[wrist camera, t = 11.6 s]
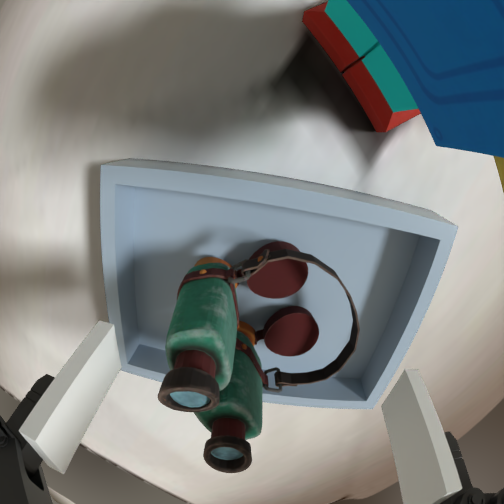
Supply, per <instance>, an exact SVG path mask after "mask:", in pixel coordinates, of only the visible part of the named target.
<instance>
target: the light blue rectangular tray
mask: <svg viewBox="0 0 504 504" xmlns="http://www.w3.org/2000/svg"><path fill="white" fill-rule="evenodd" d="M100 226H101V248H102V263H103V275H104V285H105V294H106V303H107V310H108V317H109V323H111V324H114V328H115V334H116V340H117V345H118V351H119V356H120V361H121V366H122V368H121V369H120V370H122V371H125V372H128V373H131V374H135V375H138V376H142V377H145V378H149V379H152V380H156V381H160V382H163V379H164V377H165V375H166V374H167V373H168V372H169V371H170V369H169V366H168V362H167V357H166V351H165V345H166V338H167V333H168V329H169V326H170V322H171V319H172V316H173V312H174V309H175V306H176V302H177V293H178V289H179V286H180V284H181V282H182V280H183V278H184V277H185V275H186V274H187V272H188V271H189V270H190V269H191V268H193V267H194V266H195V264H196V263H197V261H199V260H200V259H202V258H204V257H216V258H219V259H222V260H224V261H226V262H227V263H229V264H230V265H232V266H233V265H235V264H237V263H239V262H241V261H243V260H245V259H248V260H249V258H250V257H251V256H252V255H253V253H254V252H255V251H257V250H258V249H259V248H261V247H262V246H264V245H266V244H268V243H271V242H276V241H284V242H288V243H291V244H293V245H294V246H296V247H297V248H298V249H299V251H300V252H303V253H307V254H311V255H313V256H314V257H316V258H317V259H319V260H320V261H322V262H323V263H325V264H326V265H327V266H329V267H330V268H332V269H333V270H334V271H335V272H336V274H337V275H338V277H339V278H340V280H341V281H342V283H343V284H344V286H345V287H346V289H347V290H348V292H349V293H350V295H351V297H352V300H353V302H354V305H355V308H356V311H357V315H358V321H359V327H360V332H359V337H358V342H357V347H356V351H355V352H354V353H353V355H352V356H351V357H350V359H349V360H348V361H347V363H346V364H345V365H344V367H343V368H342V369H341V370H340V371H339V372H337V373H336V374H334V375H333V376H331V377H330V378H328V379H327V380H324V381H320V382H316V383H312V384H303V385H297V386H284V387H282V391H281V392H279V393H278V392H271V391H267V390H265V389H264V387H263V392H262V402H267V403H275V404H284V405H294V406H305V407H319V408H338V409H373V408H374V406H375V405H376V403H377V402H378V400H379V399H380V397H381V395H382V394H383V392H384V391H385V389H386V387H387V386H388V384H389V382H390V381H391V379H392V377H393V376H394V374H395V372H396V370H397V369H398V367H399V365H400V363H401V362H402V360H403V358H404V356H405V354H406V352H407V351H408V349H409V347H410V345H411V343H412V341H413V339H414V337H415V335H416V333H417V331H418V329H419V327H420V325H421V323H422V320H423V318H424V316H425V314H426V312H427V310H428V307H429V305H430V303H431V300H432V298H433V296H434V293H435V291H436V288H437V286H438V284H439V281H440V278H441V276H442V273H443V271H444V268H445V265H446V262H447V260H448V257H449V254H450V251H451V248H452V245H453V242H454V239H455V236H456V233H457V229H458V226H456V225H455V224H453V223H452V222H450V221H448V220H447V219H445V218H443V217H442V216H440V215H438V214H437V213H435V212H433V211H431V210H428V209H424V208H421V207H417V206H413V205H410V204H406V203H402V202H398V201H394V200H390V199H386V198H382V197H378V196H374V195H370V194H365V193H361V192H357V191H352V190H348V189H343V188H338V187H334V186H329V185H324V184H319V183H314V182H309V181H303V180H298V179H292V178H287V177H281V176H275V175H269V174H263V173H257V172H250V171H243V170H236V169H229V168H221V167H214V166H205V165H197V164H188V163H178V162H168V161H157V160H144V159H130V158H129V159H125V160H120V161H116V162H111V163H107V164H103V165H101V175H100ZM306 263H307V262H306ZM307 266H308V277H307V280H306V282H305V284H304V285H303V286H302V288H301V289H300V290H299V291H297V292H296V293H294V294H293V295H291V296H288V297H286V298H280V299H271V298H265V297H261V296H259V295H257V294H255V293H253V292H252V291H251V290H250V289H249V287H248V285H247V281H243V282H239V284H238V286H237V288H236V293H237V300H238V310H239V320H240V321H243V322H245V323H247V324H249V325H251V326H252V327H253V328H254V329H255V331H257V330H261V329H263V328H264V325H265V323H266V322H267V320H268V319H269V318H270V317H271V316H272V315H273V314H274V313H275V312H277V311H278V310H280V309H282V308H285V307H288V306H300V307H303V308H305V309H307V310H308V311H309V312H310V313H311V314H312V316H313V317H314V319H315V321H316V323H317V324H318V327H319V337H318V340H317V342H316V344H315V345H314V346H313V347H312V348H311V349H310V350H309V351H308V352H306V353H304V354H302V355H299V356H291V357H288V356H281V355H278V354H275V353H273V352H272V351H270V350H269V349H268V348H267V347H266V345H265V342H264V339H262V340H259V341H258V342H257V345H254V348H255V350H256V352H257V354H258V356H259V358H260V361H261V364H262V370H263V372H264V371H265V370H268V369H271V368H275V367H278V368H279V369H280V371H281V372H287V373H303V372H310V371H314V370H318V369H322V368H324V367H325V366H327V365H328V364H330V363H331V362H332V361H334V360H335V359H336V358H337V357H338V355H339V354H340V353H341V351H342V350H343V349H344V347H345V346H346V344H347V343H348V342H349V340H350V335H351V329H352V323H353V318H352V313H351V307H350V303H349V300H348V297H347V295H346V292H345V290H344V289H343V287H342V286H341V284H340V283H339V281H338V280H337V279H336V278H334V277H333V276H331V275H330V274H328V273H327V272H325V271H324V270H322V269H321V268H319V267H318V266H316V265H315V264H311V263H307ZM239 269H242V266H241V267H239V268H237V269H235V270H236V271H237V270H239ZM275 372H277V371H273V372H269V373H267V374H266V375H267V376H268V383H269V386H268V387H269V388H275V389H279V387H276V385H275V377H274V374H275Z"/></svg>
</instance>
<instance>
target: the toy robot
mask: <svg viewBox="0 0 504 504" xmlns="http://www.w3.org/2000/svg"><path fill="white" fill-rule="evenodd" d="M302 22H303V23H304V24H305V25H306V27H307V28H308V29H309V30H310V32H311V33H312V34H313V35H314V37H315V38H316V39H317V41H318V42H319V43H320V45H321V46H322V47H323V49H324V50H325V51H326V53H327V54H328V55H329V57H330V58H331V60H332V61H333V63H334V64H335V65H336V67H337V68H338V70H339V71H340V73H341V72H343V71H345V72H344V73H343V74H342V76H343V77H344V79H345V80H346V82H347V83H348V85H349V86H350V88H351V90H352V91H353V93H354V94H355V96H356V98H357V99H358V101H359V102H360V104H361V106H362V107H363V109H364V111H365V113H366V114H367V116H368V118H369V119H370V121H371V123H372V125H373V127H374V128H375V130H376V132H387V131H389V130H391V129H392V128H394V127H396V126H398V125H400V124H402V123H404V122H406V121H408V120H409V119H411V118H413V117H415V116H417V115H419V114H422V116H423V118H424V120H425V123H426V125H427V127H428V129H429V131H430V133H431V135H432V138H433V140H434V142H435V144H436V146H440V147H447V148H454V149H460V150H466V151H472V152H477V153H483V154H488V155H493V156H494V159H495V162H496V166H497V169H498V173H499V176H500V180H501V184H502V188H503V192H504V0H329V1H328V2H326V3H323V4H321V5H318V6H316V7H313V8H311V9H309V10H306V11H304V15H303V20H302Z"/></svg>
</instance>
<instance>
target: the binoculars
mask: <svg viewBox="0 0 504 504" xmlns="http://www.w3.org/2000/svg"><path fill="white" fill-rule="evenodd" d="M306 262H307V263H311V264H315V265H316V266H318V267H319V268H321V269H322V270H324V271H325V272H327V273H328V274H330V275H331V276H333V277H334V278H336V279H337V280H338V281H339V283H340V284H341V286H342V287H343V289H344V290H345V292H346V295H347V297H348V300H349V303H350V307H351V313H352V318H353V323H352V329H351V335H350V340H349V342H348V343H347V344H346V346H345V347H344V349H343V350H342V351H341V353H340V354H339V355H338V357H337V358H336V359H335V360H334V361H332V362H331V363H330V364H328V365H327V366H325V367H324V368H322V369H318V370H314V371H310V372H303V373H287V372H281V371H280V369H279V368H278V367H275V368H271V369H268V370H265V371H264V372H263V370H262V364H261V361H260V358H259V356H258V354H257V352H256V350H255V348H254V345H257V342H258V341H259V340H262V339H264V342H265V345H266V347H267V348H268V349H269V350H270V351H272V352H273V353H275V354H278V355H281V356H288V357H291V356H299V355H302V354H304V353H306V352H308V351H309V350H310V349H311V348H312V347H313V346H314V345H315V344H316V342H317V340H318V337H319V327H318V324H317V323H316V321H315V319H314V317H313V316H312V314H311V313H310V312H309V311H308V310H307V309H305V308H303V307H300V306H288V307H285V308H282V309H280V310H278V311H277V312H275V313H274V314H273V315H272V316H271V317H270V318H269V319H268V320H267V322H266V323H265V325H264V328H263V329H261V330H257V331H255V329H254V328H253V327H252V326H251V325H249V324H247V323H245V322H243V321H240V320H239V310H238V300H237V293H236V288H237V286H238V284H239V282H243V281H247V285H248V287H249V289H250V290H251V291H252V292H253V293H255V294H257V295H259V296H261V297H265V298H271V299H280V298H286V297H288V296H291V295H293V294H294V293H296V292H297V291H299V290H300V289H301V288H302V286H303V285H304V284H305V282H306V280H307V277H308V266H307V263H306ZM241 266H242V269H239V270H237V271H236V270H235V269H237V268H239V267H241ZM359 332H360V327H359V321H358V315H357V311H356V308H355V305H354V302H353V300H352V297H351V295H350V293H349V292H348V290H347V289H346V287H345V286H344V284H343V283H342V281H341V280H340V278H339V277H338V275H337V274H336V272H335V271H334V270H333V269H332V268H330V267H329V266H327V265H326V264H325V263H323V262H322V261H320V260H319V259H317V258H316V257H314V256H313V255H311V254H307V253H303V252H300V251H299V249H298V248H297V247H296V246H294V245H293V244H291V243H288V242H284V241H276V242H271V243H268V244H266V245H264V246H262V247H261V248H259V249H258V250H257V251H255V252H254V253H253V255H252V256H251V257H250V258H249V260H248V259H245V260H243V261H241V262H239V263H237V264H235V265H233V266H232V265H230V264H229V263H227V262H226V261H224V260H222V259H219V258H216V257H204V258H202V259H200V260H199V261H197V263H196V264H195V266H194V267H193V268H191V269H190V270H189V271H188V272H187V274H186V275H185V277H184V278H183V280H182V282H181V284H180V286H179V289H178V293H177V302H176V306H175V309H174V312H173V316H172V319H171V322H170V326H169V329H168V333H167V338H166V345H165V351H166V357H167V362H168V366H169V369H170V371H169V372H168V373H167V374H166V375H165V377H164V379H163V382H162V385H161V388H160V391H159V394H158V400H159V401H160V402H161V403H162V404H163V405H165V406H167V407H169V408H171V409H173V410H178V411H184V412H194V413H195V415H196V416H197V418H198V419H199V421H200V422H201V423H202V424H203V425H204V426H205V427H206V428H207V429H208V430H209V431H210V432H211V438H210V439H209V440H208V441H206V444H205V449H204V460H205V461H206V463H207V464H208V465H209V466H210V467H212V468H213V469H215V470H218V471H221V472H225V473H237V472H241V471H244V470H246V469H247V468H248V467H249V466H250V465H251V462H252V456H251V446H250V444H249V443H248V442H247V441H246V440H247V439H251V438H255V437H257V436H258V435H260V433H261V429H262V392H263V387H264V389H265V390H267V391H271V392H278V393H279V392H281V391H282V387H284V386H297V385H303V384H312V383H316V382H320V381H324V380H327V379H328V378H330V377H331V376H333V375H334V374H336V373H337V372H339V371H340V370H341V369H342V368H343V367H344V365H345V364H346V363H347V361H348V360H349V359H350V357H351V356H352V355H353V353H354V352H355V351H356V347H357V342H358V337H359ZM273 371H277V372H275V374H274V377H275V385H276V387H279V389H275V388H269V387H268V386H269V383H268V376H267V375H266V374H267V373H269V372H273Z"/></svg>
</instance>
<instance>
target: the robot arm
mask: <svg viewBox="0 0 504 504" xmlns="http://www.w3.org/2000/svg"><path fill="white" fill-rule="evenodd" d="M121 368H122V366H121V361H120V356H119V351H118V345H117V340H116V334H115V328H114V324H111V323H107V322H104V321H100V320H99V322H98V323H97V324H96V325H95V327H94V328H93V329H92V330H91V332H90V333H89V334H88V335H87V337H86V338H85V339H84V340H83V342H82V343H81V344H80V345H79V347H78V348H77V349H76V351H75V352H74V353H73V355H72V356H71V357H70V358H69V360H68V361H67V362H66V364H65V365H64V366H63V368H62V369H61V370H60V372H59V373H58V374H57V376H56V377H55V378H54V377H52V376H50V375H48V374H46V375H45V376H43V377H42V378H40V379H38V380H37V381H36V383H35V384H34V385H33V387H32V388H31V391H29V392H28V393H27V395H26V397H25V398H24V399H23V400H22V402H21V403H20V404H19V406H18V407H17V409H16V410H15V412H14V413H13V414H12V416H11V417H10V419H9V420H8V421H7V422H6V423H5V421H4V420H3V418H2V417H1V416H0V504H53V503H52V500H51V497H50V494H49V491H48V487H47V484H46V481H45V477H44V473H43V470H42V467H41V465H40V464H41V462H42V460H43V461H44V462H45V463H46V464H47V465H48V466H49V467H51V468H53V469H55V470H57V471H58V472H60V473H62V474H64V473H65V471H66V469H67V467H68V465H69V463H70V461H71V459H72V457H73V455H74V453H75V451H76V449H77V447H78V445H79V444H80V442H81V440H82V438H83V436H84V434H85V432H86V430H87V428H88V426H89V425H90V423H91V421H92V419H93V417H94V415H95V414H96V412H97V410H98V408H99V406H100V404H101V403H102V401H103V399H104V397H105V396H106V394H107V392H108V390H109V388H110V387H111V385H112V383H113V381H114V380H115V378H116V376H117V374H118V373H119V371H120V369H121ZM381 407H382V411H383V415H384V418H385V422H386V426H387V430H388V434H389V438H390V442H391V447H392V451H393V455H394V460H395V464H396V469H397V474H398V479H399V483H400V489H401V494H402V500H403V504H504V488H503V489H502V490H500V491H499V492H498V493H486V494H484V493H483V492H482V491H481V490H480V489H478V488H473V486H472V484H471V482H470V479H469V475H468V472H467V469H466V466H465V463H464V460H463V459H462V454H461V451H459V450H460V449H459V446H458V443H457V440H456V439H455V438H454V436H453V435H452V434H451V433H450V432H444V431H443V428H442V426H441V423H440V420H439V418H438V415H437V413H436V410H435V408H434V405H433V403H432V400H431V398H430V396H429V393H428V391H427V389H426V386H425V384H424V382H423V379H422V377H421V375H420V373H419V370H418V369H405V370H404V372H403V373H402V375H401V377H400V378H399V380H398V381H397V383H396V385H395V386H394V388H393V389H392V391H391V392H390V394H389V395H388V397H387V398H386V400H385V401H384V403H383V404H382V406H381Z"/></svg>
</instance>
